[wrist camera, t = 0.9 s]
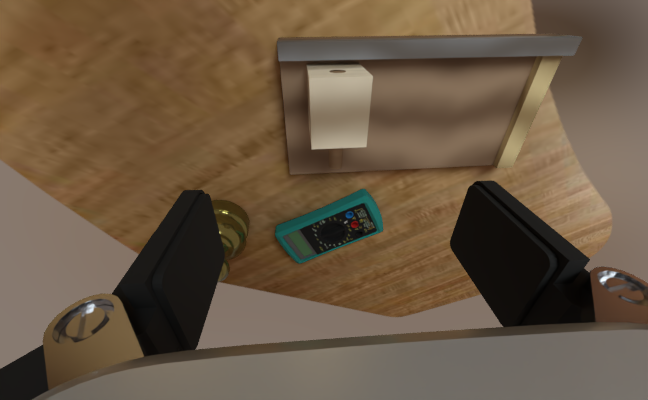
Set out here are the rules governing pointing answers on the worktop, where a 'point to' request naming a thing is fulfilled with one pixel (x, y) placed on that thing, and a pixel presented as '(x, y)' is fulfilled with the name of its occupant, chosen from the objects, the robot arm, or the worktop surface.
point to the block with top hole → (338, 107)
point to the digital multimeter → (330, 227)
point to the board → (427, 97)
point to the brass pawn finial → (231, 231)
